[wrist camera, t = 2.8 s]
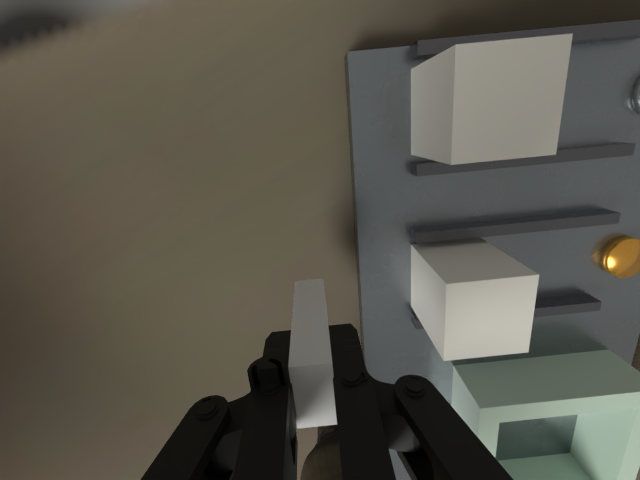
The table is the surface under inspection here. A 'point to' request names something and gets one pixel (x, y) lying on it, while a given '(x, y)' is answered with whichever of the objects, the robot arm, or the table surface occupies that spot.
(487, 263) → the block
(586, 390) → the socket
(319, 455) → the light bulb
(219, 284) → the table surface
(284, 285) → the table surface
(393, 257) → the panel
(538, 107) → the block
